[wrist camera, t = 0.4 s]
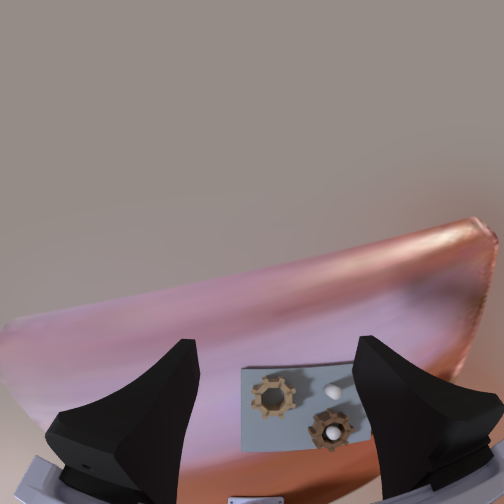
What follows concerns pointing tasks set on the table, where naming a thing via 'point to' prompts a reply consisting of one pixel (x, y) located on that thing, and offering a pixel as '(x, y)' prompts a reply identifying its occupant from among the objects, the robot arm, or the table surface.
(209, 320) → the table surface
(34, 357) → the table surface
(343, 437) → the walnut gear
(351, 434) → the gear board
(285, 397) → the beech gear
